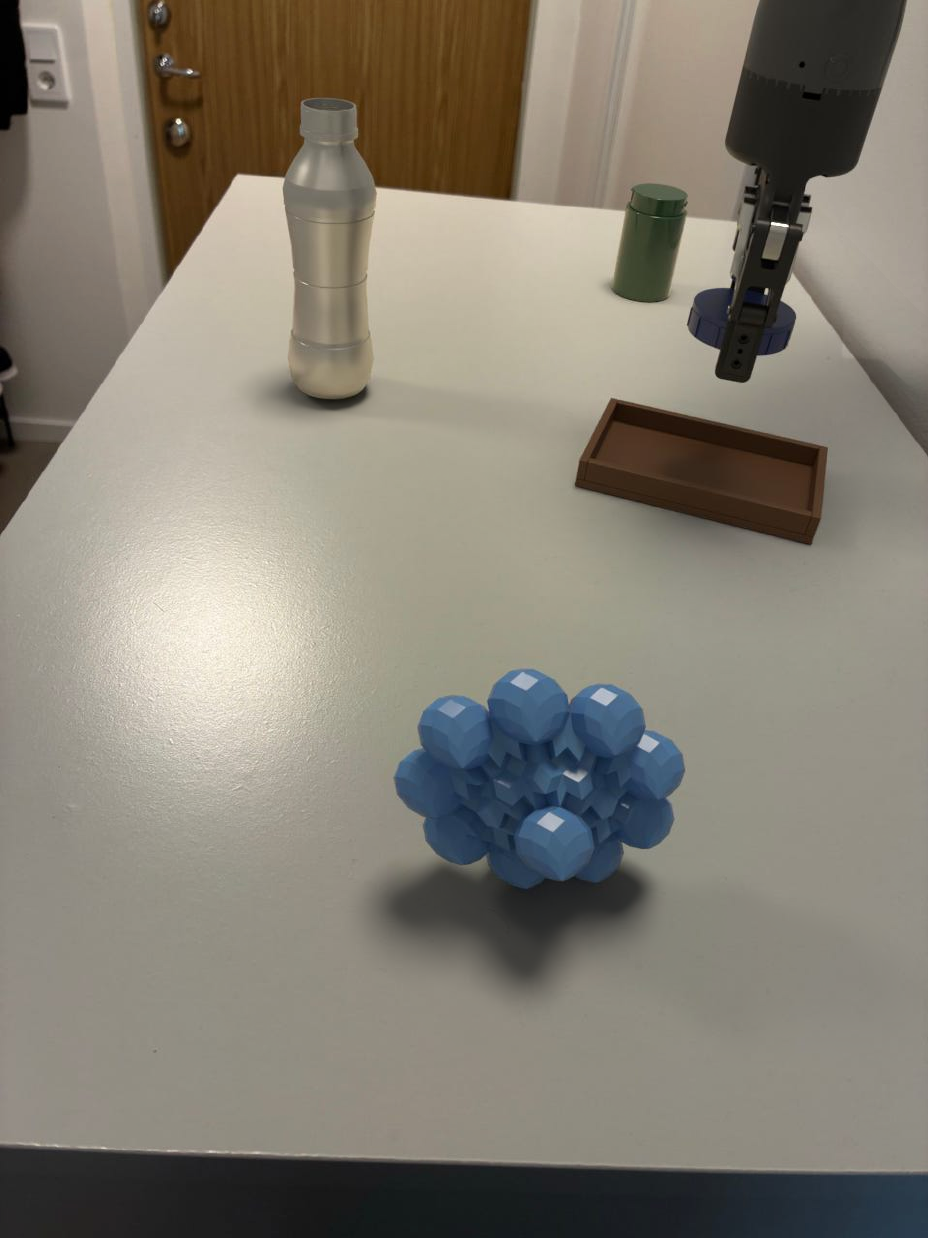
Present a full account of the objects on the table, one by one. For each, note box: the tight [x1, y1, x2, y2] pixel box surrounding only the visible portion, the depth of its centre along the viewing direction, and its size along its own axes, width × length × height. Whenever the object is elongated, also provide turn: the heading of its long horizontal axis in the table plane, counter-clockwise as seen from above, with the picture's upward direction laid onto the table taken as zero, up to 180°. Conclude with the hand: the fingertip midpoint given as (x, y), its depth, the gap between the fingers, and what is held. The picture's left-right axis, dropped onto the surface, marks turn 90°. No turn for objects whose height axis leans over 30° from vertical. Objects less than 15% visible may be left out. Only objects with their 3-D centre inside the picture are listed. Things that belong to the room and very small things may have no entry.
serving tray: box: [574, 397, 829, 545], centre depth 67 cm, size 16×10×2 cm, turn 71°
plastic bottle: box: [282, 97, 378, 400], centre depth 68 cm, size 6×7×20 cm
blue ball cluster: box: [393, 668, 686, 890], centre depth 37 cm, size 12×7×12 cm, turn 95°
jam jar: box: [611, 182, 689, 303], centre depth 92 cm, size 6×6×10 cm
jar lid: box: [686, 287, 797, 357], centre depth 61 cm, size 6×6×2 cm
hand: (733, 355), depth 62 cm, fingers closed on jar lid, 6 cm apart
